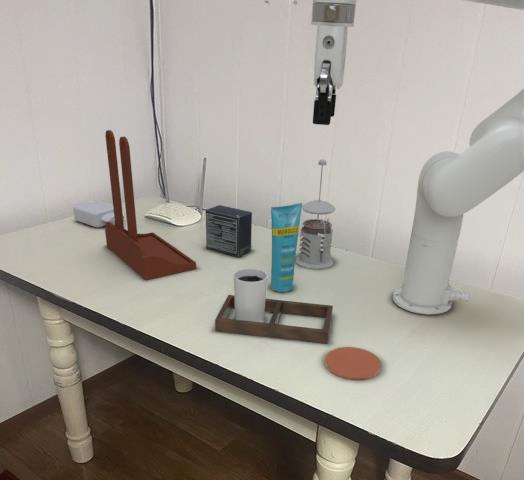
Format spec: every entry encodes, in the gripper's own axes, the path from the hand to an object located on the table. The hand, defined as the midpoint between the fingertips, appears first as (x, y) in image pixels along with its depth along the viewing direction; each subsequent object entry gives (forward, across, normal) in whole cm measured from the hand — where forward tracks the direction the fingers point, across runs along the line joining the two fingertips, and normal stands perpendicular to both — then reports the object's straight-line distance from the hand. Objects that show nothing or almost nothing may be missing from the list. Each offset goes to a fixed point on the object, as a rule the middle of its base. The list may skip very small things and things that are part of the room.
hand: (323, 120), depth 108 cm
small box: (+37, +21, +23) cm, 48 cm away
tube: (+37, +1, +6) cm, 37 cm away
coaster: (+36, -28, -11) cm, 47 cm away
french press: (+36, +18, 0) cm, 41 cm away
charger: (+37, +31, +62) cm, 79 cm away
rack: (+36, -16, +5) cm, 40 cm away
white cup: (+37, -16, +10) cm, 41 cm away
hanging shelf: (+37, +10, +41) cm, 56 cm away
